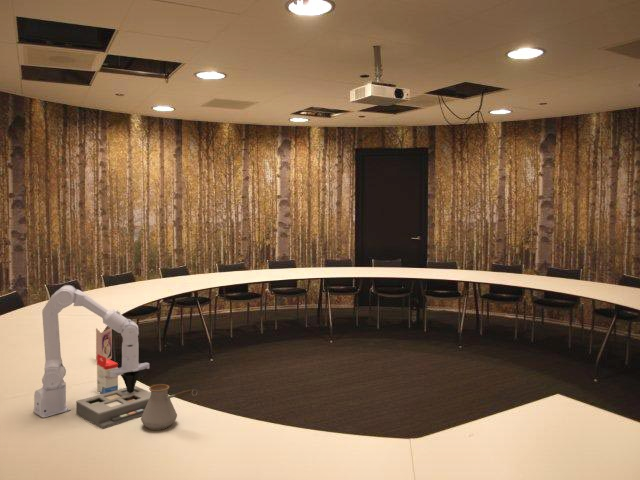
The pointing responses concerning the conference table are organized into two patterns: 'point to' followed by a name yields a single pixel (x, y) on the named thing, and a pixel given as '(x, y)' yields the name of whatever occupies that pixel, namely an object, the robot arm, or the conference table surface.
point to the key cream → (113, 404)
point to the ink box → (106, 375)
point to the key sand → (113, 397)
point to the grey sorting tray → (116, 414)
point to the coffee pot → (160, 408)
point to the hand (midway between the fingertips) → (130, 391)
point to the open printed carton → (104, 343)
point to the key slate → (128, 394)
